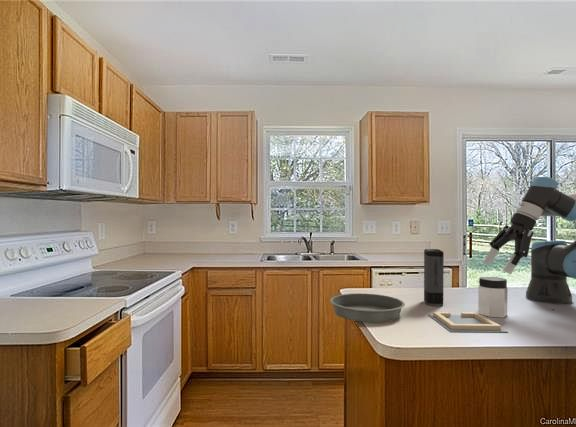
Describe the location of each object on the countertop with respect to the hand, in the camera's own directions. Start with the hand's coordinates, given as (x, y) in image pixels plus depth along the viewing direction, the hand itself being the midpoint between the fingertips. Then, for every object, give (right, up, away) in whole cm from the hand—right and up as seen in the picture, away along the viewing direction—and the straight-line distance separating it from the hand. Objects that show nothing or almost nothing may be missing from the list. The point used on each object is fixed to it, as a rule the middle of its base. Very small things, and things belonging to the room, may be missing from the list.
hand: (496, 268), depth 140 cm
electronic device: (-21, -14, +5) cm, 26 cm away
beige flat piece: (-22, -14, -22) cm, 34 cm away
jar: (-7, -14, -12) cm, 20 cm away
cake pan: (-49, -14, -11) cm, 53 cm away
